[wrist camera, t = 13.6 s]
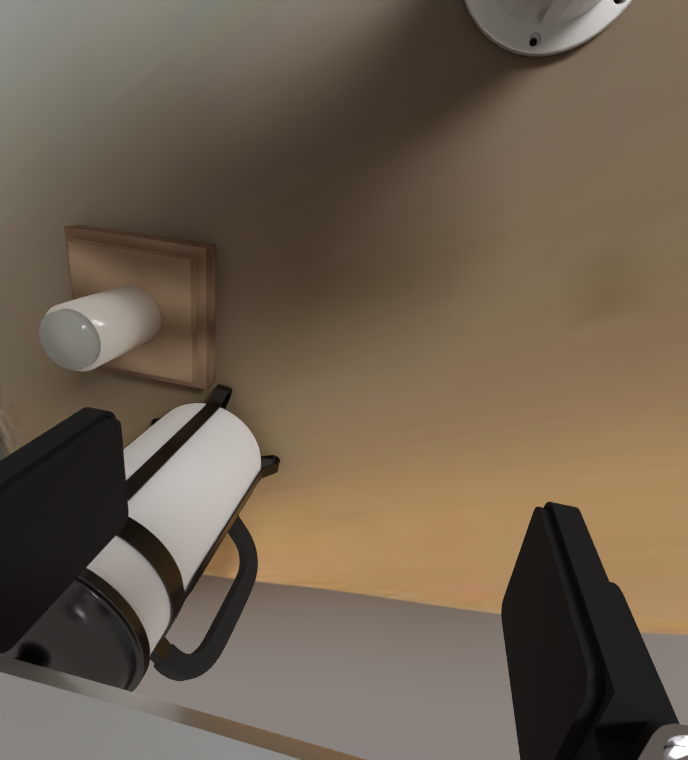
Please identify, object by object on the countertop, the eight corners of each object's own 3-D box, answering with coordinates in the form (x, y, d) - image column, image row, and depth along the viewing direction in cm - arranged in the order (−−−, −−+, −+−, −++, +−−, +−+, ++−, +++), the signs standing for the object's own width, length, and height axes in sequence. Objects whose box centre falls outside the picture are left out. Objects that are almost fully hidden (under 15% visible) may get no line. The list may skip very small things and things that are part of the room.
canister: (106, 279, 44) (30, 299, 36) (161, 291, 44) (96, 314, 36) (108, 335, 47) (37, 366, 39) (161, 348, 46) (100, 381, 38)
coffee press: (145, 475, 57) (-127, 746, 30) (166, 359, 50) (-161, 572, 23) (280, 530, 56) (127, 860, 29) (320, 420, 49) (169, 714, 22)
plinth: (79, 224, 46) (56, 227, 43) (215, 245, 44) (200, 249, 42) (93, 358, 52) (74, 368, 49) (215, 382, 50) (201, 393, 47)
